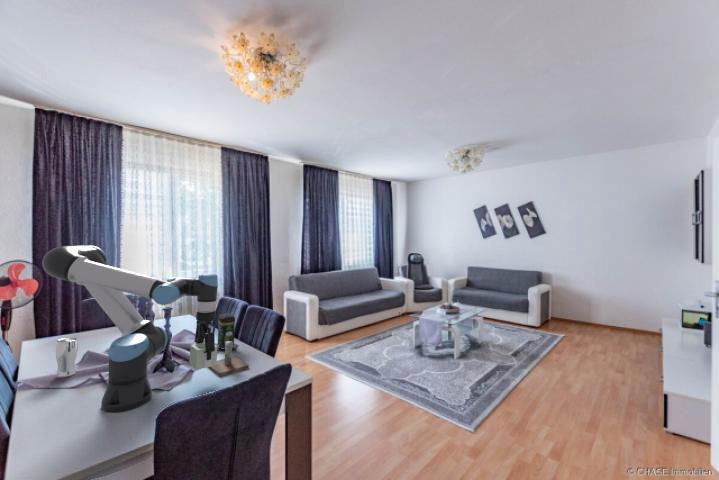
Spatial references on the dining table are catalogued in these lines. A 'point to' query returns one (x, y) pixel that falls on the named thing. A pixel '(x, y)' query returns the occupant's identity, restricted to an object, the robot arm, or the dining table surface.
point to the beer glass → (66, 356)
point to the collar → (200, 356)
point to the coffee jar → (226, 329)
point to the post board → (228, 369)
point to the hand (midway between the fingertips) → (203, 363)
